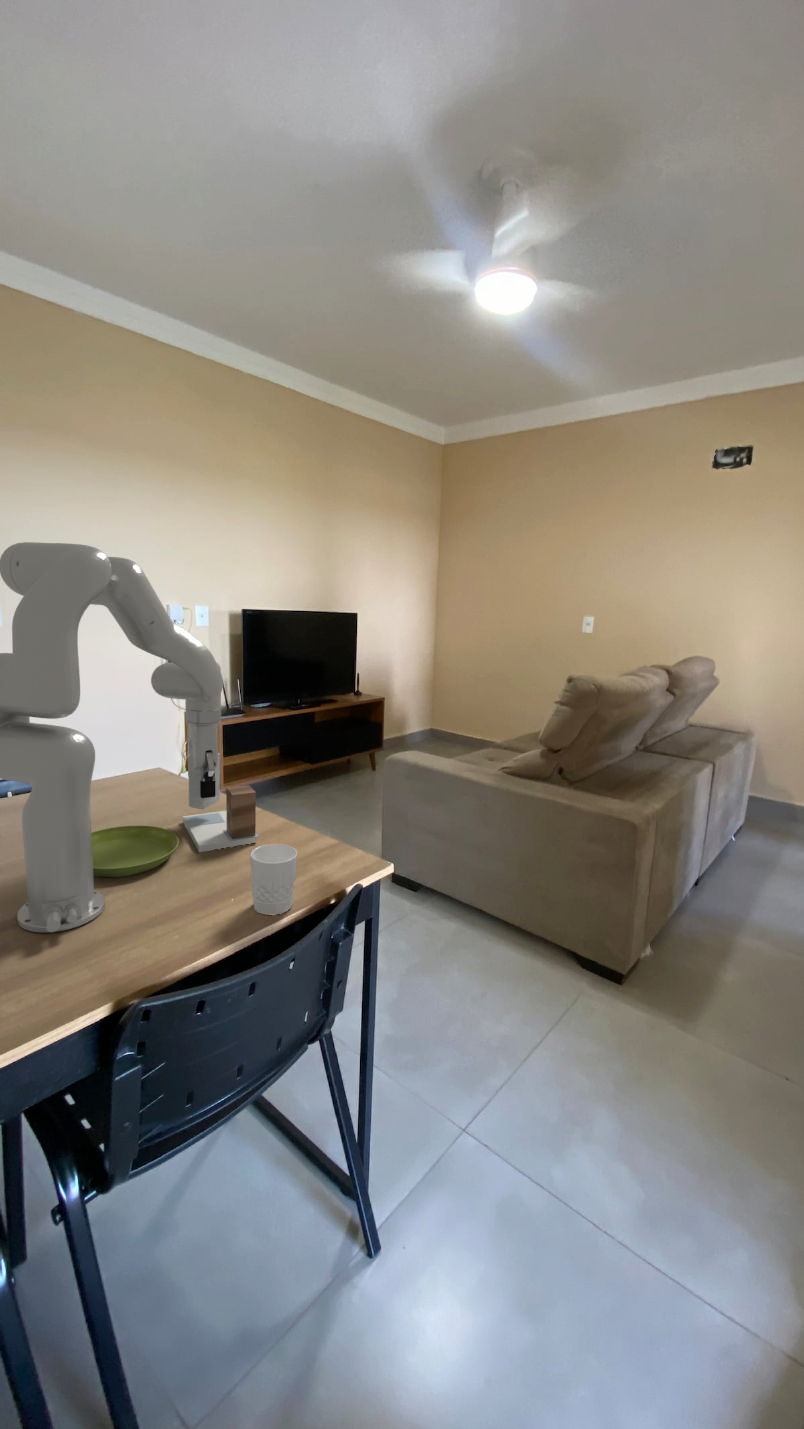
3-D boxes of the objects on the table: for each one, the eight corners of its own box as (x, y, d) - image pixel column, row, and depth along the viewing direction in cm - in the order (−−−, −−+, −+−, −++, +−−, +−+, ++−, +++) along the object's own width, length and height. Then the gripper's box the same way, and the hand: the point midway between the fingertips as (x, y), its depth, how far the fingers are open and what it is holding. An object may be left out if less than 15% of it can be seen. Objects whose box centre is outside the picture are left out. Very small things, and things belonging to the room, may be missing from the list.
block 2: (255, 835, 129) (255, 814, 128) (232, 839, 127) (232, 817, 126) (248, 827, 134) (249, 806, 133) (226, 830, 131) (226, 809, 130)
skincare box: (205, 799, 140) (204, 749, 137) (221, 802, 138) (220, 752, 136) (187, 807, 134) (186, 755, 132) (203, 810, 132) (203, 758, 130)
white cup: (247, 898, 106) (248, 846, 104) (291, 892, 109) (292, 842, 107) (252, 920, 99) (253, 865, 97) (299, 914, 102) (301, 860, 100)
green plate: (60, 891, 105) (59, 874, 104) (68, 846, 123) (67, 831, 123) (184, 874, 114) (183, 858, 113) (174, 834, 132) (174, 820, 132)
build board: (259, 843, 129) (259, 836, 129) (199, 852, 123) (199, 845, 123) (237, 815, 145) (237, 808, 144) (182, 822, 138) (182, 815, 138)
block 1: (255, 814, 128) (255, 792, 127) (232, 817, 126) (232, 794, 125) (248, 806, 133) (249, 785, 132) (226, 809, 130) (226, 787, 129)
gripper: (178, 709, 137) (179, 782, 141) (194, 725, 123) (195, 806, 126) (211, 707, 141) (212, 779, 145) (230, 723, 127) (230, 802, 130)
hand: (204, 791), depth 135 cm, fingers closed on skincare box, 6 cm apart
